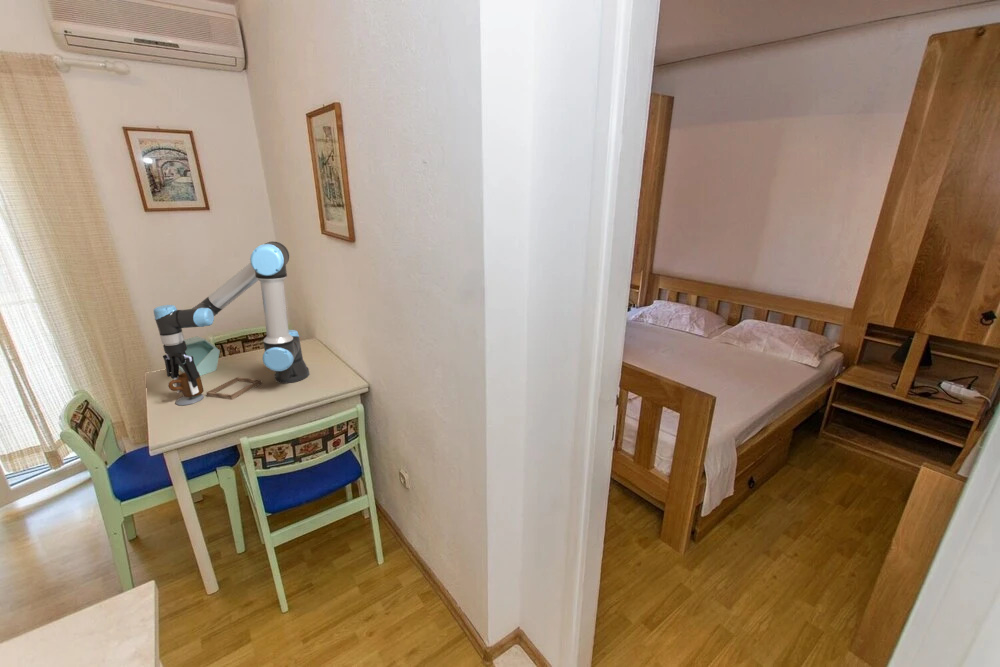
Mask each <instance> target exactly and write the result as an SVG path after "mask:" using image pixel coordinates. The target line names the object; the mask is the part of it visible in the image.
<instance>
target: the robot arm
mask: <svg viewBox="0 0 1000 667" xmlns="http://www.w3.org/2000/svg"><path fill="white" fill-rule="evenodd" d="M249 260H250V261H249V263H248V264H246V266H244V267H243V268H242V269H241V270H240V271H238V272H237V273H236V274H234V275H233V276H232V277H231V278H229V279H228V280H227V281H226V282H225V283H223V284H222V285H221V286H219V287H218V288H217V289H216V290H215V291H213V292H212V293H211V294H210V295H208V296H207V297H206V298H205V299H203V300H202V301H201V302H199V303H198V304H197V305H195V306H193V307H192V308H189V309H177V307H176V305H174V304H165V305H159V306H157V307H155V308H154V309H153V316H154V321H155V323H156V326H157V328H158V333H159V337H160V342H161V344H162V346H163V351H164V353H165V354H164V355H162V358H163V360H164V365H165V370H166V376H167V377H170V378H171V379H172V380H176V379H177V380H178V379H179V378H178V376H179V375H180V373H179V372H180V370H179V366H180V367H182V368H183V370H184V372H185V373H186V375H187V377H188V378H189V380H188V383H189V386H190V390H191V393H192V395H194V394H196V393H198V392H199V390H198V387H197V386H198V385H197V381H196V379H197V378H199V377H200V378H201V376H199V373H198V371H197V368H196V366H195V363H194V359H193V356H190V357H189V356H187V354H186V353H185V351H186V350H187V346H186V343H185V341H184V340H185V336H184V334H183V329H187V328H204V327H208V326H212V325H213V324H214V320H215V318H214V317H216V315H218V314H219V313H220V312H222V310H224V309H225V308H226V307H227V306H229V305H230V303H232V302H234V301H235V300H236V299H237V298H238V297H240V296H241V295H242V294H243V293H245V292H246V291H247V290H248V289H250V288H251V287H252V286H254V284H256V283H257V282H258V281H259V282H260V288H261V289H260V290H261V298H262V306H263V315H264V325H265V331H266V336H265V337H264V338H263V347H264V349H263V350H264V352H263V354H262V363H263V365H264V366H265V367H266V368H267V369H269V370H271V371H273V372H274V381H275V382H276V383H279V384H290V383H291V384H292V383H296V382H300V381H303V380H305V379H306V378H308V377H309V376H310V375H311V374H310V368H309V367H308V366H307V363H306V362H305V360H304V356H303V351H302V346H301V341H300V334H299V332H298V331H297V330H296V329H289V322H288V321H289V320H288V311H287V303H286V292H285V285H284V284H285V282H284V281H285V279H286V278H287V277H288V273H287V272H288V271H287V264H289V263H288V262H289V261H290V252H289V250H288V248H287V247H286V246H285V245H284V244H283V243H281V242H278V241H268V242H265V243H264V244H261V245H258V246H257V247H255V249H253V251H252V252H251V254H250V258H249ZM185 362H186V363H185ZM183 363H185V364H183ZM173 385H174V387H177V386H180V383H174V384H173ZM176 393H177V394H179V393H182V391H180V390H178V391H176Z"/></svg>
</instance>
